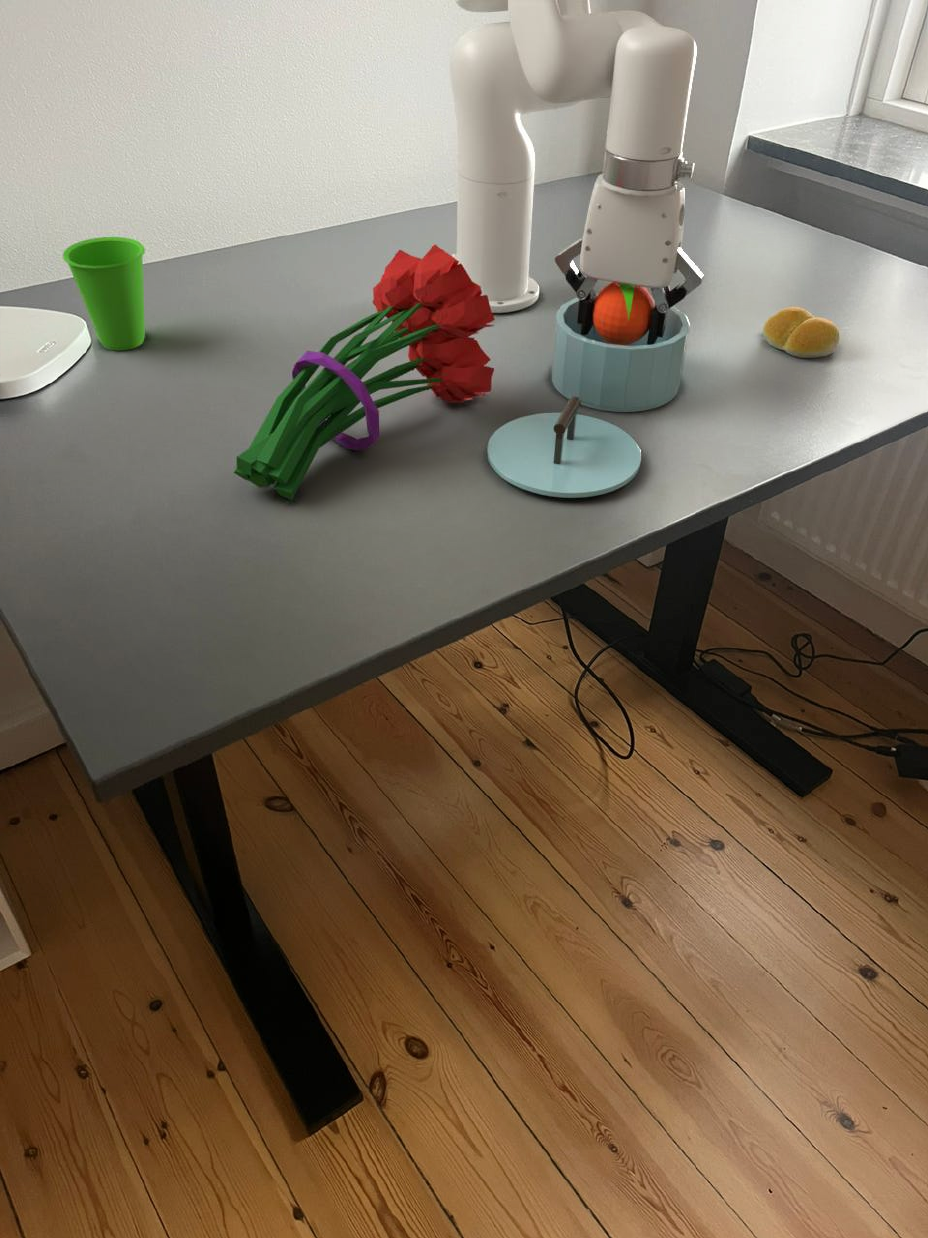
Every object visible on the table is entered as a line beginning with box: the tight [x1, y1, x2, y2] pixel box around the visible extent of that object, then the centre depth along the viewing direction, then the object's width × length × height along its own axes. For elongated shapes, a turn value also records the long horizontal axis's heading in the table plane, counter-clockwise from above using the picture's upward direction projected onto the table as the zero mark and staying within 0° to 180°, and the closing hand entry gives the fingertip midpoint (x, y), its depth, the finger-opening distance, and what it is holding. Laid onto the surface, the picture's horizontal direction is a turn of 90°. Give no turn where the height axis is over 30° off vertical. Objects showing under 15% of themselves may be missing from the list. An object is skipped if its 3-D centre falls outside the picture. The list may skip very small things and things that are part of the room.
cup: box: [62, 236, 146, 351], centre depth 119 cm, size 9×9×11 cm
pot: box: [550, 292, 691, 413], centre depth 114 cm, size 15×15×8 cm
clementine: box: [592, 282, 655, 345], centre depth 112 cm, size 8×7×7 cm
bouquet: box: [233, 244, 496, 501], centre depth 101 cm, size 20×16×30 cm
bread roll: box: [762, 306, 840, 359], centre depth 124 cm, size 8×9×4 cm
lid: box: [486, 396, 642, 499], centre depth 102 cm, size 16×16×6 cm
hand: (619, 334), depth 113 cm, fingers closed on clementine, 6 cm apart
